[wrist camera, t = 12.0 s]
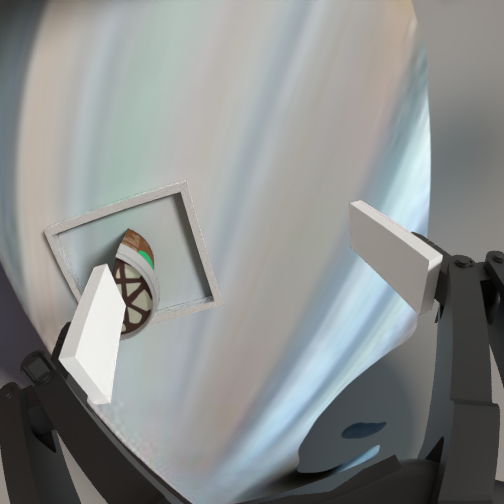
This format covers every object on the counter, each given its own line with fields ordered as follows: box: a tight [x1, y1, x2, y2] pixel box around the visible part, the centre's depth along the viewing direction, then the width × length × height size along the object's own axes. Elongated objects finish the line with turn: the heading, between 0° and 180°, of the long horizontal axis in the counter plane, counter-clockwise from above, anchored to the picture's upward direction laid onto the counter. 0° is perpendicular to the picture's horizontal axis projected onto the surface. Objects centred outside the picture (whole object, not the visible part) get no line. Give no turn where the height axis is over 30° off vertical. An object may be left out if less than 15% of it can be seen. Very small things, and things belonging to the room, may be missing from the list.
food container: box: [112, 229, 160, 341], centre depth 35 cm, size 12×6×10 cm, turn 154°
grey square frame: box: [44, 179, 223, 325], centre depth 38 cm, size 18×20×2 cm
